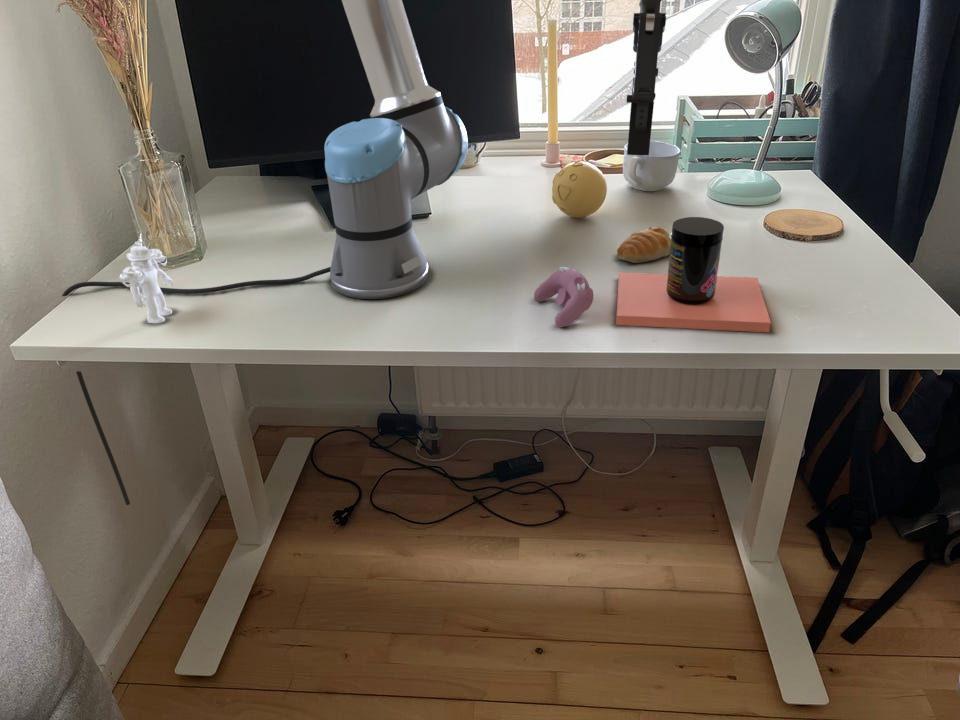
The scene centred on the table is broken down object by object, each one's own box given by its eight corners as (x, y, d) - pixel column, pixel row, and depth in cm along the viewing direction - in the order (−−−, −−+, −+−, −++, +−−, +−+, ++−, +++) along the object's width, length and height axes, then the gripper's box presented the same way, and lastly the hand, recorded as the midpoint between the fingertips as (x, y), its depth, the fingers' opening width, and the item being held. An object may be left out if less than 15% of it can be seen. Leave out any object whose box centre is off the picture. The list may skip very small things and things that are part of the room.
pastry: (637, 269, 118) (639, 247, 116) (605, 257, 123) (606, 235, 121) (676, 253, 123) (678, 231, 121) (644, 242, 128) (645, 220, 126)
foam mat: (615, 325, 103) (616, 315, 103) (618, 281, 115) (619, 272, 114) (769, 332, 100) (771, 322, 99) (756, 286, 112) (757, 277, 111)
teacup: (643, 174, 158) (646, 136, 154) (687, 185, 151) (691, 145, 147) (600, 191, 150) (602, 151, 146) (645, 203, 143) (648, 162, 139)
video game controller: (581, 335, 104) (605, 291, 102) (554, 327, 102) (577, 282, 100) (555, 305, 112) (576, 263, 110) (529, 297, 110) (550, 254, 108)
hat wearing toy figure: (163, 302, 115) (141, 228, 109) (186, 303, 114) (166, 228, 108) (130, 331, 108) (105, 253, 101) (155, 332, 107) (131, 254, 101)
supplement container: (695, 311, 103) (704, 239, 97) (655, 295, 107) (661, 226, 102) (724, 295, 106) (734, 225, 101) (684, 281, 111) (692, 213, 105)
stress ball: (600, 205, 144) (603, 152, 139) (609, 224, 135) (612, 169, 130) (548, 207, 144) (548, 155, 139) (554, 226, 135) (555, 171, 130)
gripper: (691, -29, 80) (669, 169, 91) (682, -47, 100) (665, 116, 112) (619, -29, 81) (606, 166, 92) (625, -46, 102) (613, 115, 113)
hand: (638, 139), depth 102 cm, fingers open, 13 cm apart
